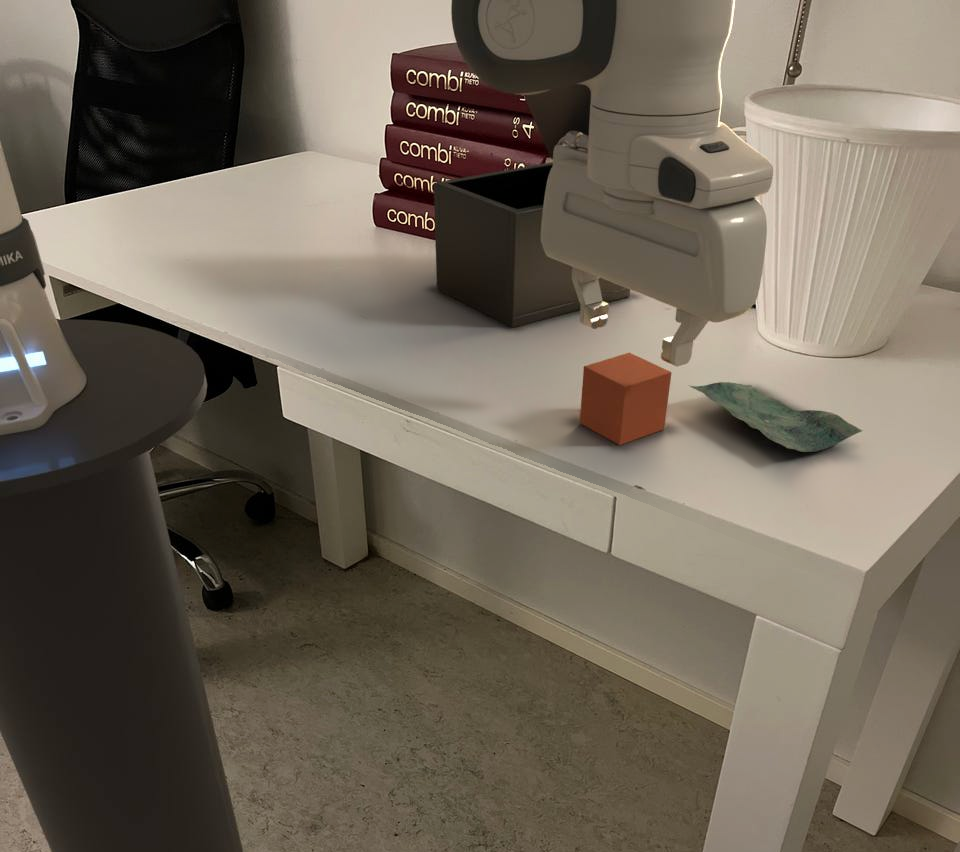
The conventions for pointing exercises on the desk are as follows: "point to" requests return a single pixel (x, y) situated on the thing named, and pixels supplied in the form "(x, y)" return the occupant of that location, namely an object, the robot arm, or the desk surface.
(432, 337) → the desk surface
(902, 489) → the desk surface
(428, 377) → the desk surface
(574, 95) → the box lid
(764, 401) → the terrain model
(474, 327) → the desk surface
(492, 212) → the black box
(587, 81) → the robot arm
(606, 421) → the terracotta orange cube
